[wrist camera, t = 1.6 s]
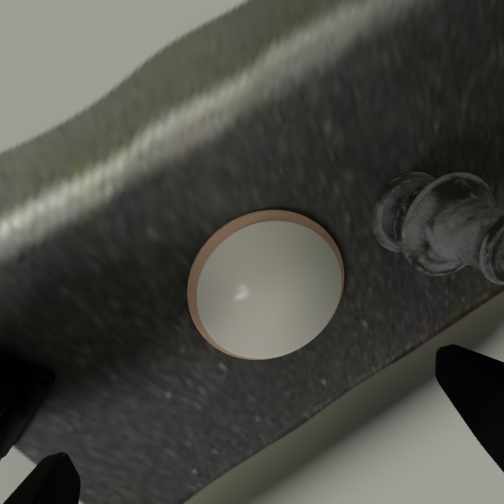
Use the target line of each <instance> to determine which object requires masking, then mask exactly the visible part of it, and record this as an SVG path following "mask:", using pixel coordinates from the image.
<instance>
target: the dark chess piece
mask: <svg viewBox="0 0 504 504" xmlns="http://www.w3.org/2000/svg"><path fill="white" fill-rule="evenodd" d="M371 221H372V230H373V232H374V235H375V238H376V239H377V240H378V242H379V243H380V244H381V245H382V246H384V247H385V248H386V249H388V250H391V251H394V252H403V253H404V255H405V257H406V259H407V260H408V262H409V263H410V264H411V266H412V267H413V268H415V269H416V270H418V271H419V272H421V273H423V274H427V275H431V276H444V275H447V274H450V273H453V272H456V271H458V270H460V269H461V268H463V267H465V266H466V265H468V264H469V265H471V266H473V267H476V268H478V269H480V270H481V271H482V272H483V274H484V276H485V277H486V278H487V279H488V280H490V281H491V282H493V283H497V284H500V285H501V284H504V210H501V209H496V207H495V202H494V197H493V194H492V192H491V190H490V188H489V186H488V185H487V184H486V183H485V182H484V181H483V180H482V179H481V178H480V177H478V176H475V175H473V174H470V173H462V172H454V173H451V174H447V175H443V176H441V177H439V178H436V179H435V178H434V177H432V176H431V175H429V174H426V173H424V172H408V173H405V174H401V175H400V176H398V177H396V178H394V179H393V180H391V181H390V182H389V183H388V184H387V185H386V186H385V187H384V188H383V190H382V191H381V192H380V194H379V195H378V197H377V199H376V202H375V204H374V207H373V211H372V217H371Z"/></svg>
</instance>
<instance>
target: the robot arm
mask: <svg viewBox="0 0 504 504" xmlns="http://www.w3.org/2000/svg"><path fill="white" fill-rule="evenodd" d="M435 374H436V378H437V381H438V383H439V384H440V386H441V387H442V389H443V390H444V392H445V393H446V395H447V396H448V398H449V399H450V401H451V402H452V404H453V405H454V407H455V408H456V409H457V411H458V412H459V414H460V415H461V417H462V418H463V420H464V421H465V423H466V424H467V426H468V427H469V428H470V430H471V431H472V433H473V434H474V436H475V437H476V438H477V440H478V441H479V442H480V444H481V445H482V446H483V447H484V449H485V450H486V451H487V453H488V454H489V455H490V456H491V457H492V459H493V460H494V461H495V462H496V463H497V465H498V466H499V467H500V468H501V470H502V471H503V472H504V362H501V361H499V360H496V359H493V358H491V357H488V356H485V355H482V354H480V353H477V352H474V351H472V350H469V349H466V348H464V347H461V346H458V345H455V344H450V345H447V346H443V347H440V348H438V349H437V351H436V367H435ZM42 378H46V379H48V381H44V380H42ZM55 378H56V376H55V374H54V372H52V371H50V370H48V369H45V368H42V367H40V366H37V365H34V364H32V363H29V362H26V361H24V360H21V359H18V358H16V357H13V356H10V355H8V354H5V353H2V352H0V460H1V458H3V457H4V456H6V454H7V453H8V452H9V450H10V449H11V447H12V446H13V444H14V443H15V441H16V440H17V438H18V437H19V435H20V433H21V432H22V430H23V429H24V427H25V426H26V424H27V423H28V421H29V420H30V418H31V417H32V415H33V414H34V412H35V411H36V409H37V408H38V406H39V405H40V403H41V402H42V400H43V399H44V397H45V396H46V394H47V393H48V391H49V390H50V388H51V387H52V385H53V383H54V381H55ZM80 486H81V483H80V477H79V474H78V472H77V470H76V468H75V467H74V465H73V463H72V461H71V459H70V457H69V456H68V454H67V453H65V452H61V453H57V454H53V455H50V456H47V457H45V458H44V459H43V460H42V461H41V462H40V463H39V464H38V465H37V466H36V467H35V469H33V471H32V472H31V473H30V474H29V475H28V476H27V477H26V478H25V480H24V481H23V482H22V483H21V484H20V485H19V486H18V487H17V489H16V490H15V491H14V492H13V493H12V494H11V495H10V497H9V498H8V499H7V500H6V501H5V502H4V503H3V504H78V502H79V495H80Z"/></svg>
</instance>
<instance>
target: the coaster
mask: <svg viewBox="0 0 504 504" xmlns="http://www.w3.org/2000/svg"><path fill="white" fill-rule="evenodd" d="M343 286H344V267H343V261H342V257H341V254H340V252H339V249H338V247H337V245H336V243H335V242H334V240H333V239H332V237H331V236H330V235H329V234H328V233H327V231H326V230H325V229H323V228H322V227H321V226H320V225H319V224H317V223H316V222H314V221H312V220H311V219H309V218H308V217H305V216H303V215H301V214H299V213H295V212H291V211H287V210H279V209H267V210H259V211H254V212H251V213H247V214H244V215H242V216H239V217H237V218H235V219H233V220H231V221H229V222H228V223H226V224H225V225H223V226H222V227H221V228H219V229H218V230H217V231H215V232H214V233H213V234H212V235H211V236H210V237H209V238H208V239H207V241H206V242H205V243H204V245H203V246H202V247H201V249H200V250H199V252H198V254H197V255H196V257H195V259H194V262H193V264H192V266H191V270H190V273H189V277H188V284H187V299H188V306H189V311H190V314H191V317H192V320H193V322H194V324H195V326H196V328H197V329H198V331H199V332H200V333H201V335H202V336H203V337H204V338H205V339H206V340H207V341H208V342H209V343H210V344H211V345H213V346H214V347H215V348H217V349H218V350H220V351H222V352H224V353H226V354H228V355H231V356H234V357H238V358H242V359H249V360H263V359H271V358H276V357H280V356H283V355H286V354H289V353H291V352H293V351H295V350H297V349H299V348H301V347H303V346H304V345H306V344H307V343H309V342H310V341H311V340H313V339H314V338H315V337H316V336H317V335H318V334H319V333H320V332H321V331H322V330H323V329H324V328H325V326H326V325H327V324H328V323H329V321H330V320H331V318H332V317H333V315H334V313H335V311H336V309H337V307H338V305H339V302H340V300H341V296H342V292H343Z"/></svg>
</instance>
